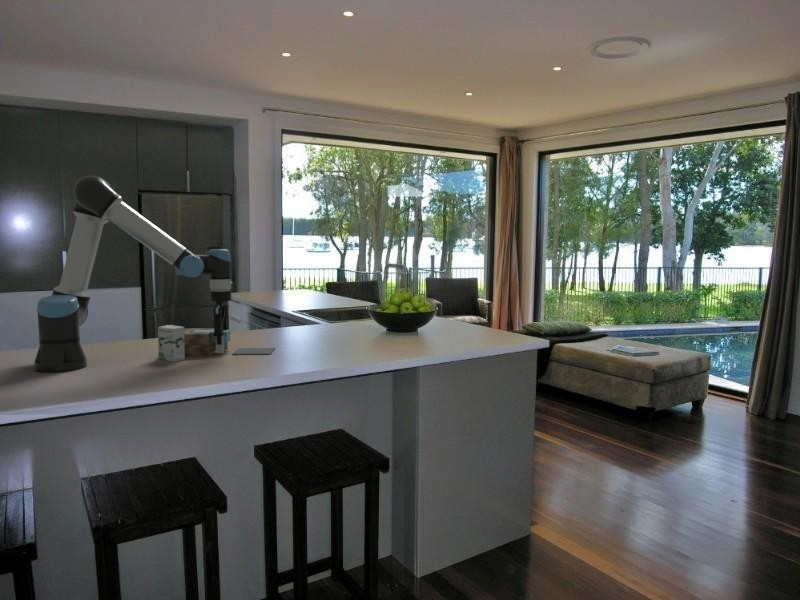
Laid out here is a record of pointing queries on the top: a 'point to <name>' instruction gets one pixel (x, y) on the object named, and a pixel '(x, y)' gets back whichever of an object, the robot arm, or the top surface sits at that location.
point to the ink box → (171, 343)
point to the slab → (213, 338)
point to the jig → (198, 342)
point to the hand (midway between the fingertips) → (222, 351)
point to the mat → (253, 351)
